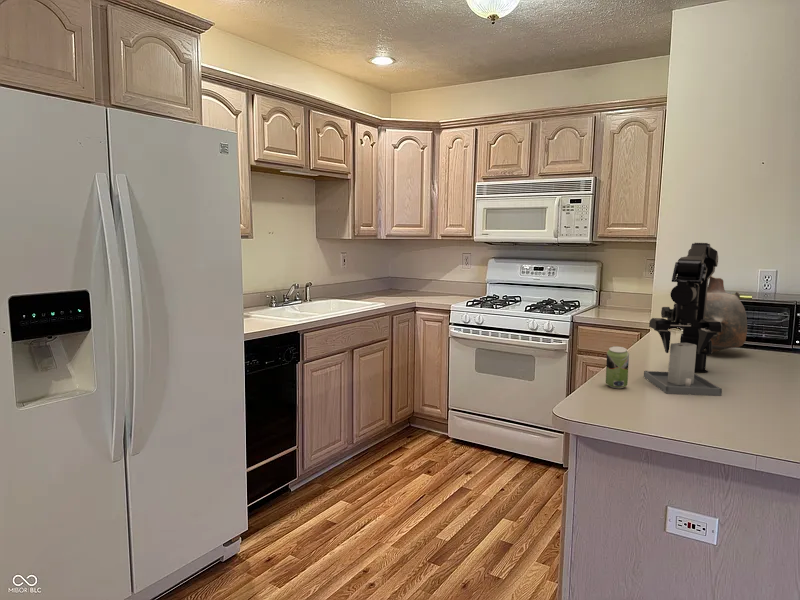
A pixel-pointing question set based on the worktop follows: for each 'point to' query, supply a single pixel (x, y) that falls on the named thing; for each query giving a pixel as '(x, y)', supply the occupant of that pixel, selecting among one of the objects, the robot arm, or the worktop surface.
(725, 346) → the jug
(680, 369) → the skincare box
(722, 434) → the worktop surface
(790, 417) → the worktop surface
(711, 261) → the robot arm
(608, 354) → the beverage can
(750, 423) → the worktop surface
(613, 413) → the worktop surface
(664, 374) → the tray
